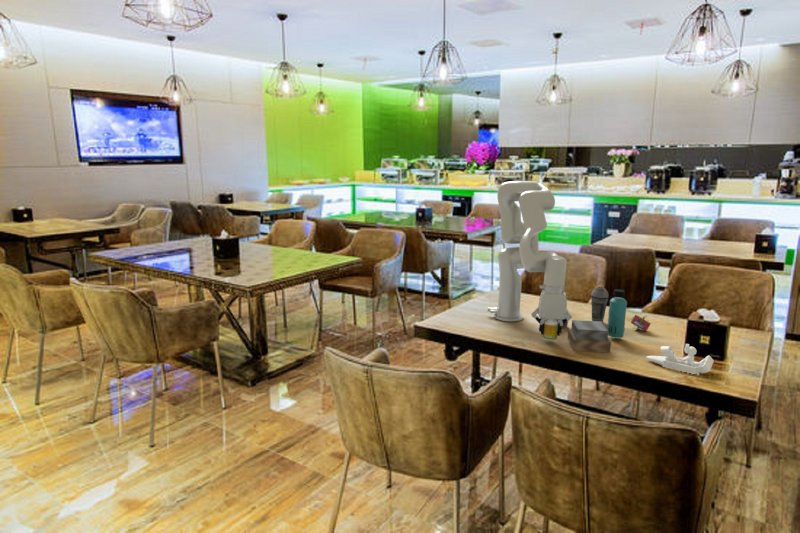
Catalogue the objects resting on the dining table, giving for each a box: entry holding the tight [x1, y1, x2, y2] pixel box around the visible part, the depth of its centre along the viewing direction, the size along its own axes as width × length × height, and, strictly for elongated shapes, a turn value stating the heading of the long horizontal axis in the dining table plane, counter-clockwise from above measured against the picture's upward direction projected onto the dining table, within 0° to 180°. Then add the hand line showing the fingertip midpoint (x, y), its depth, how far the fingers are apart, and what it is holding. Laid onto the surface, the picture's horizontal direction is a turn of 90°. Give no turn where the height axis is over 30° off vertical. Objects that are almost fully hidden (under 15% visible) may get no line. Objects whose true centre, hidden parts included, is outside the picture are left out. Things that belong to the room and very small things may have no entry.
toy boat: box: [646, 343, 715, 376], centre depth 178 cm, size 11×20×9 cm, turn 52°
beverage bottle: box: [606, 289, 628, 339], centre depth 205 cm, size 6×7×20 cm
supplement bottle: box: [541, 319, 558, 342], centre depth 201 cm, size 5×5×10 cm
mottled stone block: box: [567, 319, 612, 353], centre depth 199 cm, size 13×13×8 cm
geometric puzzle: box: [630, 314, 652, 333], centre depth 216 cm, size 7×7×8 cm
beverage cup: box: [590, 277, 609, 324], centre depth 225 cm, size 7×7×20 cm
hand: (549, 333), depth 201 cm, fingers closed on supplement bottle, 5 cm apart
